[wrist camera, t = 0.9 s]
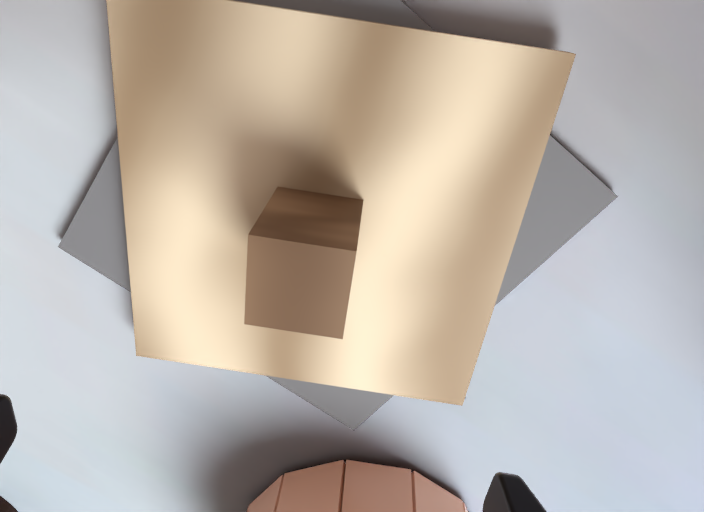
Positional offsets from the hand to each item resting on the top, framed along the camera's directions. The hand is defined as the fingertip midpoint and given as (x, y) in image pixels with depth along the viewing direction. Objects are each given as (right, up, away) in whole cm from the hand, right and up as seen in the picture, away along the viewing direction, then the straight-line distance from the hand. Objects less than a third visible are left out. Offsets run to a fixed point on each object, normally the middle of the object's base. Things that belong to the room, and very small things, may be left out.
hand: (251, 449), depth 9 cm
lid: (+1, +5, +9) cm, 11 cm away
